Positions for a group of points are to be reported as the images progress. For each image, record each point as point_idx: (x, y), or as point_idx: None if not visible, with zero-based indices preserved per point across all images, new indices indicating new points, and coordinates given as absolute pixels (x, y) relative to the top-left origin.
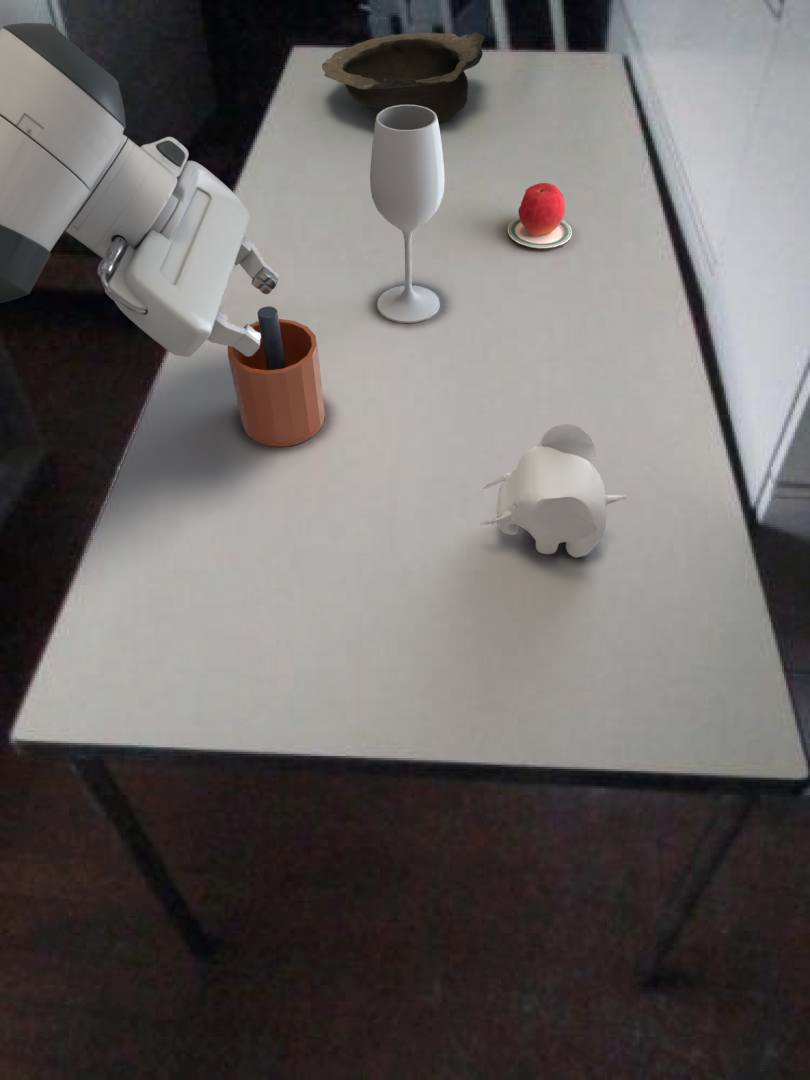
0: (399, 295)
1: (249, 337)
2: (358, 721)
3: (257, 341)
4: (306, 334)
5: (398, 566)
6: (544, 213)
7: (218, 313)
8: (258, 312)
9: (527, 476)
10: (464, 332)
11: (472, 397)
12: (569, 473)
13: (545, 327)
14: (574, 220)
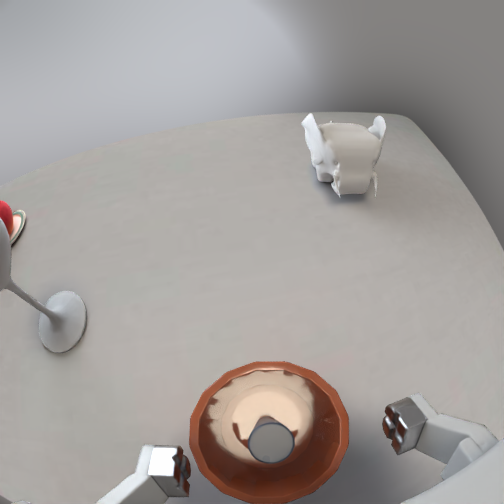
0: (53, 327)
1: (431, 406)
2: (495, 253)
3: (418, 396)
4: (219, 391)
5: (412, 258)
6: (5, 211)
7: (479, 454)
8: (277, 460)
9: (359, 146)
10: (103, 264)
11: (197, 241)
12: (346, 126)
13: (105, 206)
14: None
